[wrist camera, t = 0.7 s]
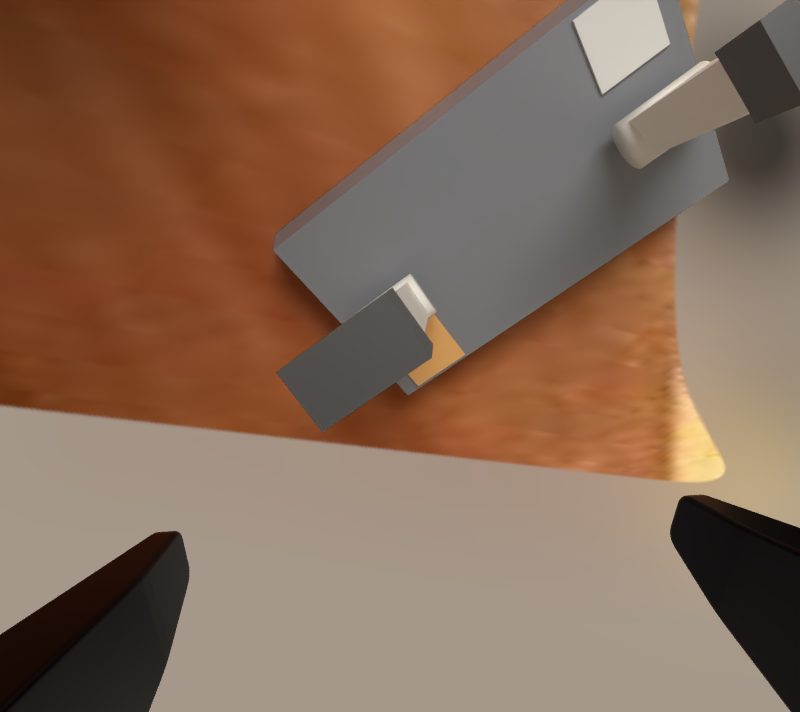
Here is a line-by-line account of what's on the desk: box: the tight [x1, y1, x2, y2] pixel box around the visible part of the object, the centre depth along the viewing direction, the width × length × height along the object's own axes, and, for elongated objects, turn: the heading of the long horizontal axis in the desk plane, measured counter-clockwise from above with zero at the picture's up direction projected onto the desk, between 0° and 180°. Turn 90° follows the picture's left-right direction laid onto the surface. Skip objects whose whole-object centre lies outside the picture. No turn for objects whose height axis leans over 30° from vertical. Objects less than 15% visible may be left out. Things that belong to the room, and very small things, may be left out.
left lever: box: [276, 274, 437, 432], centre depth 16 cm, size 2×3×9 cm, turn 126°
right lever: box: [612, 0, 800, 169], centre depth 14 cm, size 2×3×9 cm, turn 126°
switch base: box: [273, 0, 729, 395], centre depth 20 cm, size 9×16×2 cm, turn 126°
